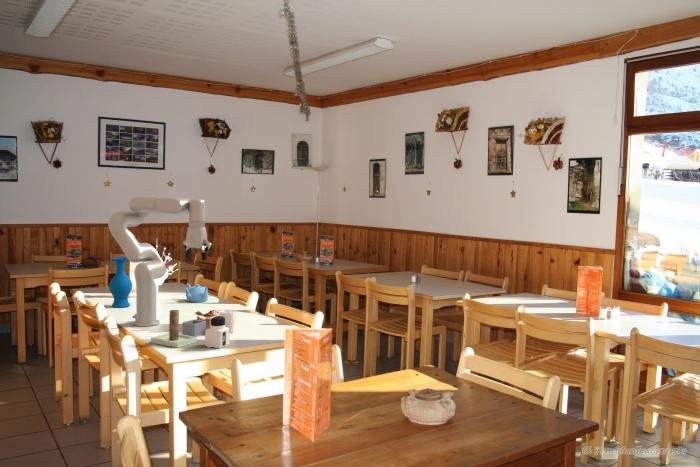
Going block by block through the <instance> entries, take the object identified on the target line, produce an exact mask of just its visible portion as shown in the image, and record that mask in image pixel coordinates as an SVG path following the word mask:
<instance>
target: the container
mask: <svg viewBox="0 0 700 467" xmlns="http://www.w3.org/2000/svg"><path fill="white" fill-rule="evenodd" d="M204 335H205V338H204V339H205V340H204V341H205V342H204V344H205V345H204V347H205V346H207V347H206V348H211V347H215V348H214V349H219V348H221V349H223V348H225V347H227V346H229V345H230V333H229V328H227V327H225V317H223V316H219V315H215V316H211V317H210V318H209V328H206V330H205V334H204ZM222 347H223V348H222Z"/></svg>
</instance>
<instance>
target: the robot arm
mask: <svg viewBox="0 0 700 467" xmlns="http://www.w3.org/2000/svg"><path fill="white" fill-rule="evenodd" d="M128 207H129V210H117V211H115V212H113V213H112V214H111V215H110V217H109V219H108V223H107V224H108V230H109V232H110V234H111V236H112V237H113V238H114V240H115V241H116V242H117V243H118V245H119V247H120V249H121V250H122V252H123V253H124V255H125V257H127V258H128V261H129V262H130V263H135V264H136V263H138V264H136V266H135V268H134V272H133V274H134V279H135V286H136V297H135V298H136V313H134V315H132V317H131V318H132V319H135V320H134V321H133V324H132V325H134V326H135V327H136V326H137V327H152V326H157V325H159V324H160V320H159V319H157V286H156V282H155V280H156V279H157V280H158V279H160V278H162V277H164V276H165V274H166V271H167V268H166V264H165V262H164V261H163V259H162V258H161V256H160V254H159V253H158V251H157V250H156V249H155V247H154V246H153V245H152V244H150V243H149V242H139V240H138V239H137V238H136V236H135V235H134V234H133V232H131V231H130V230H129V229H128V228H132V227H133V228H134V227H138V226H139V225H140V224H142V223H143V222H144V221H145V220H146V219H147V218H148V217H149V216H150V215H151V214H159V215H160V214H165V215H166V214H170V215H171V214H172V215H179V214H180V215H181V214H183V215H184V214H188V223H187V224H188V227H187V230H186V235H185V240H183V241H182V244H183V248H184V249H185V251H186V259H187V260H191V259H193V249H201V251H202V252H201V261H208V253H209V251H210V249H211V246H212V243H211V242H210V241H209V240H208V235H207V233H208V232H207V227H206V201H205V199H203V198H188V197H187V198H186V197H177V198H176V197H172V198H170V197H161V196H158V195H135V196H133V197H131V198H130V199H129V201H128Z"/></svg>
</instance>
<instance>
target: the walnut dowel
mask: <svg viewBox="0 0 700 467" xmlns="http://www.w3.org/2000/svg"><path fill="white" fill-rule="evenodd" d="M179 322H180V310H179V309H178V310H177V309H170V310H169V322H168V326H169V331H168V333H169V340H171V341H176V340H178V339H179V334H180V333H179V332H180V331H179V329H180V328H179V327H180V326H179V324H180V323H179Z"/></svg>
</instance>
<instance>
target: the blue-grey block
mask: <svg viewBox="0 0 700 467" xmlns="http://www.w3.org/2000/svg"><path fill="white" fill-rule="evenodd" d="M206 329H207V321H205V320H200V319H190V320H186V321H183V322H182V335H188V336H193V337H197V338H198V337H200V336H203V335H205V330H206Z"/></svg>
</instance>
